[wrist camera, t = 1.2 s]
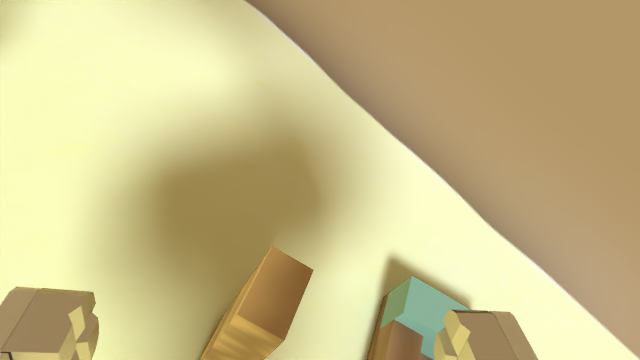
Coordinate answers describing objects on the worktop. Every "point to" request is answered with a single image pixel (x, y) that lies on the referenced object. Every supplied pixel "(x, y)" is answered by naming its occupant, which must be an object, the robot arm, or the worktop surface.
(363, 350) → the worktop surface
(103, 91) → the worktop surface
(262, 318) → the oak plank
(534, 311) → the worktop surface
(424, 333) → the walnut sill
